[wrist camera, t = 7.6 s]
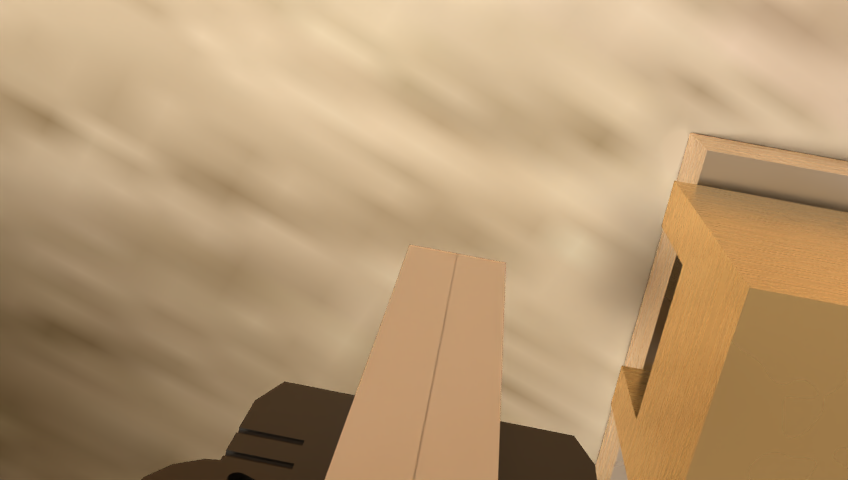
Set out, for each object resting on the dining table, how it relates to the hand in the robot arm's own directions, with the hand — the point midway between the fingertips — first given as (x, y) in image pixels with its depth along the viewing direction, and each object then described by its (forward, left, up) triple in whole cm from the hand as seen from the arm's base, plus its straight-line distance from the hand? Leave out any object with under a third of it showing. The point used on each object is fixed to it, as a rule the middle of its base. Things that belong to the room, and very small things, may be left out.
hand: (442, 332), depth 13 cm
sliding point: (-2, -6, -3) cm, 7 cm away
